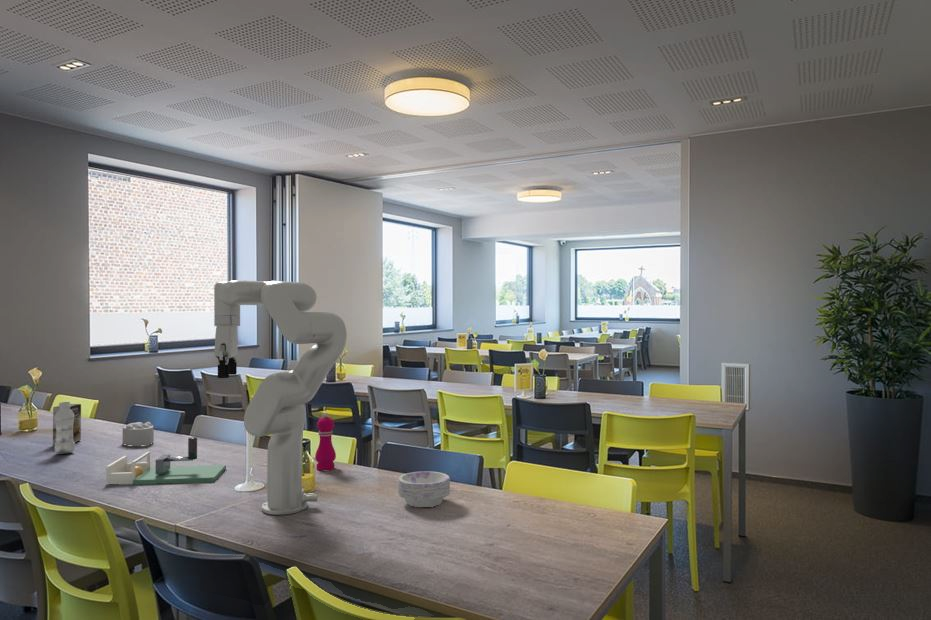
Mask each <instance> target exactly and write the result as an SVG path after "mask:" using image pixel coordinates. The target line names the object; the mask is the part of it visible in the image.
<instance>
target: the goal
mask: <svg viewBox="0 0 931 620" xmlns="http://www.w3.org/2000/svg"><path fill="white" fill-rule="evenodd" d="M145 458H146V461H143V462H140V461H142V460H143V459H145ZM135 466H139V467H141V468H142V469H143V473H144V472H145V471H147V470H148V469H150V468H151V451H147V452H144V453H143V454H142V455H141V456H139V457H138V458H136V459H133V460H132V461H131V462H128V455H123V456H122V457H120V458H118V459H116V460H115V461H113V462H112V463H110V464H108V465H106V467H105V485H107V486H110V485H109V484H119V485H133V480H134V479H135ZM131 468H132V472H130V470H131Z"/></svg>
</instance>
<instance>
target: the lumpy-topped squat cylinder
mask: <svg viewBox="0 0 931 620" xmlns="http://www.w3.org/2000/svg"><path fill="white" fill-rule="evenodd" d="M154 429H155V427H154V425H153V424H152V422H151V421H146V422H145V423H143V422H142V421H137V422H131V423H128V424H126V425H125V426H123V427H122V445H123V444H126V445H132V446H141V445H148V444H151V443H153V442H154V441H155V440H154V439H155V438H154V437H155V436H154V433H155V432H154V431H155V430H154ZM154 443H155V442H154ZM154 443H153V444H154ZM141 447H142V446H141Z"/></svg>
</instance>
